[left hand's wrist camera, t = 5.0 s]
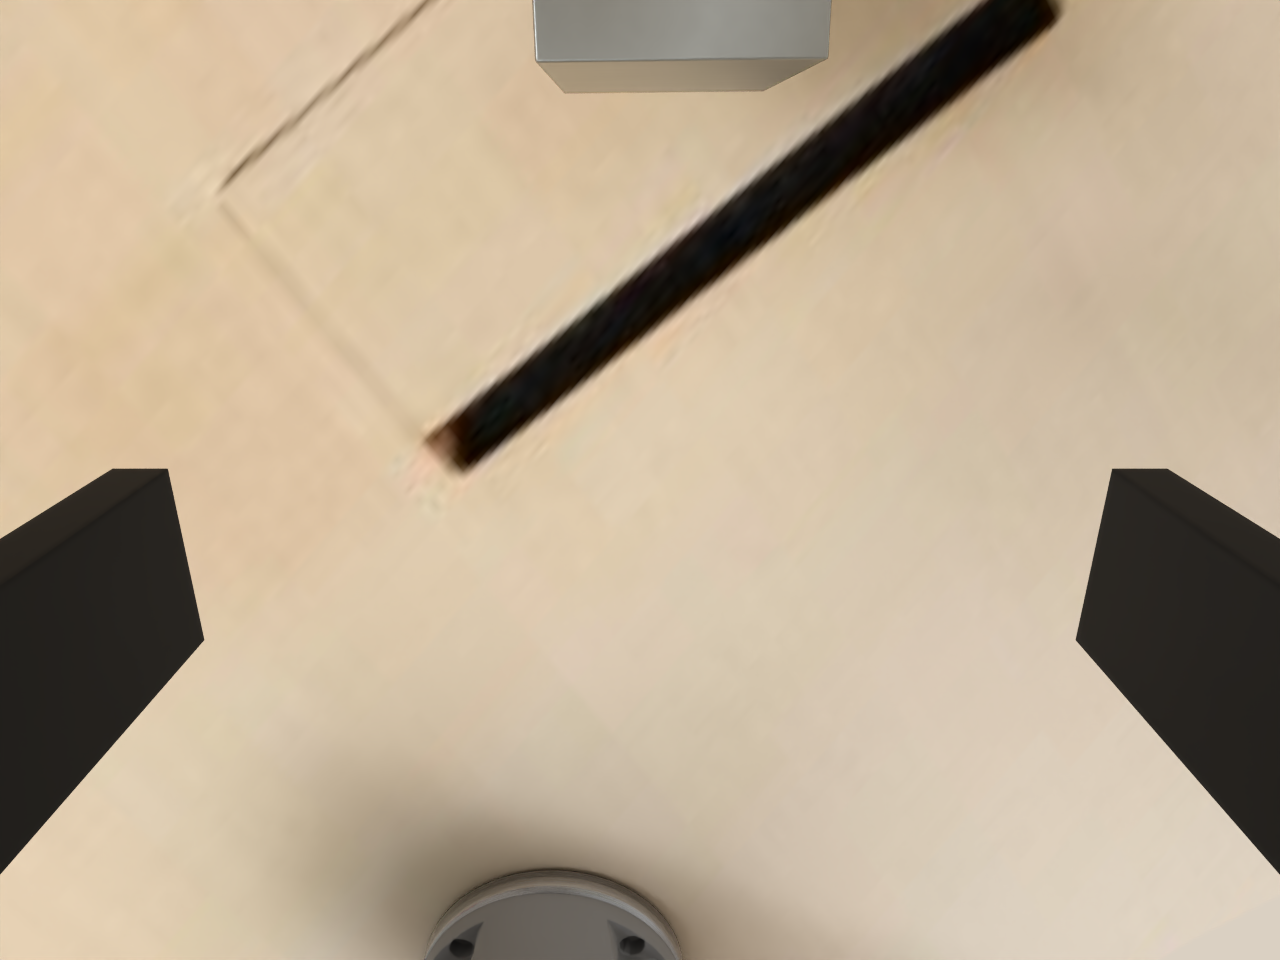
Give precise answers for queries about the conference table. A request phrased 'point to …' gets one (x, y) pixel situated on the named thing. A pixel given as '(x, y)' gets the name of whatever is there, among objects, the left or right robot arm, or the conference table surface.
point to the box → (678, 43)
